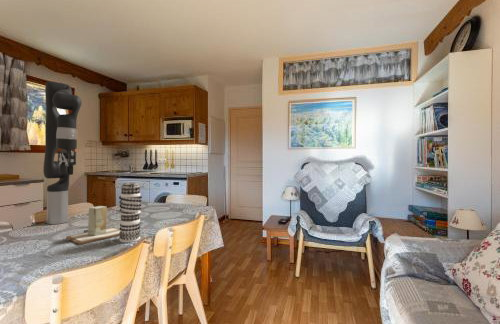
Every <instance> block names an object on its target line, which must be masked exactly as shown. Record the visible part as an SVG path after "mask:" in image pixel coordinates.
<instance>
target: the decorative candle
mask: <svg viewBox="0 0 500 324" xmlns="http://www.w3.org/2000/svg"><path fill="white" fill-rule="evenodd" d="M120 188H121V191H120V196H118V198H119V208H120V209H119V214H120V220H119V221H120V224H119V230H121V231H120V233H119V234H120V236H118V237H119V240H118V241H119V242H121V243H133V242H137V241H139V240H140V239H141V218H140V217H141V215H140V214H141V213H142V211H141V210H142V204H141V202H142V201H143V200H142V198H143V196H141V185H140V184H139V183H138V182H124V183H123V184H122V185H121V186H120Z"/></svg>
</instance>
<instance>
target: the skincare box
mask: <svg viewBox="0 0 500 324" xmlns="http://www.w3.org/2000/svg"><path fill="white" fill-rule="evenodd" d="M107 210H108V207H107V206H106V205H105V206H104V205H97V206H93V207H89V208H88V220H87V221H88V223H87V224H88V227H87V230H88V235H94V236H96V235H99V234H102V233H106V228H107V223H108V222H107V220H108V219H107V217H108V215H107V213H108V211H107Z"/></svg>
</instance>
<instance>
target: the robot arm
mask: <svg viewBox="0 0 500 324" xmlns="http://www.w3.org/2000/svg"><path fill="white" fill-rule="evenodd" d="M44 86H45V87H44V88H45V89H44V90H45V91H44V92H45V110H46V112H45V124H44V126H45V127H44V128H45V129H44V133H45V134H44V135H45V136H44V137H45V138H44V139H45V148H44V160H43V170H42V171H43V176H44V177H45V178H46V179H58V181H56V182H54V183H52V184H49V185H48V186H47V187H46V224H47V225H58V224H65V223H68V221H69V187H70V186H69V185H70V177H71V176H72V175H74V167H75V166H76V164H77V151H75V150H77V148H78V132H77V131H78V130H77V120H78V116H79V115H78V114H79V112H80V109H81V107H82V99H81V97H80V96H78V95H76V94H73V91H72V87H71V85H69V84H67V83H65V82H64V83H63V82H57V81H51V80H48V81H46V83H45V85H44ZM58 109H59V110H67V111H71V112H70V113H67V114H66V113H65V114H63V113H62V114H60V112H59V111H58ZM59 149H60V150H59ZM57 151H58V152H57ZM56 153H57V161H56V160H55V156H56Z"/></svg>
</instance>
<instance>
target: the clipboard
mask: <svg viewBox="0 0 500 324" xmlns="http://www.w3.org/2000/svg"><path fill="white" fill-rule="evenodd" d="M120 231H121V230H120V228H119V229H118V228H116V227H114V226H113V227H111V226H110V227H106V233H102V234H99V235H96V236H94V235H88V229H85V230H83V232H82V233H78V234H77V233H76V234H73V235H67V236H65V238H66V239H67V240H69V241H71V242H72V243H75V244H76V245H78V246H82V245H86V244H91V243H95V242H98V241H99V242H100V241H103V240H107V239H112V238H118V237H119V236H120V234H119V233H120Z"/></svg>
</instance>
